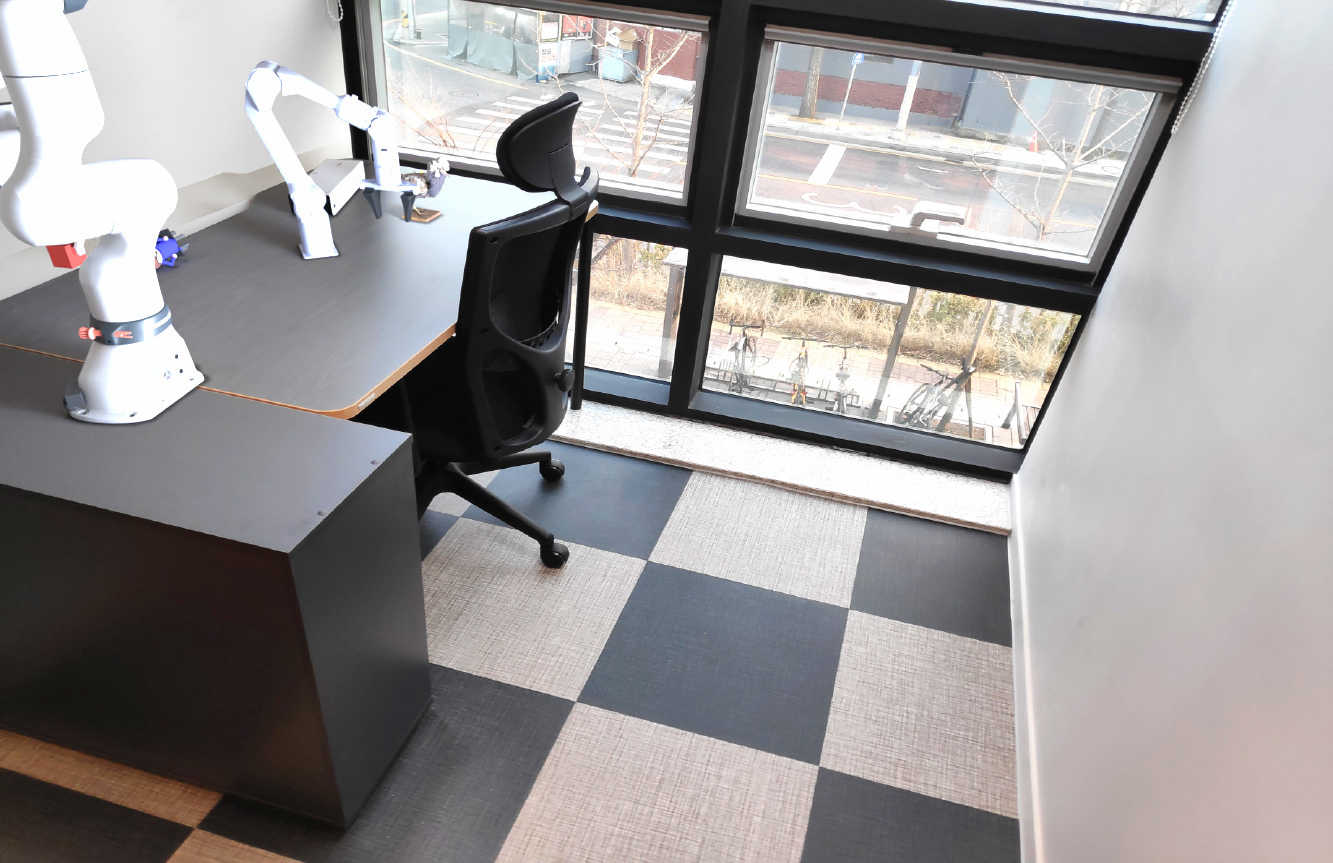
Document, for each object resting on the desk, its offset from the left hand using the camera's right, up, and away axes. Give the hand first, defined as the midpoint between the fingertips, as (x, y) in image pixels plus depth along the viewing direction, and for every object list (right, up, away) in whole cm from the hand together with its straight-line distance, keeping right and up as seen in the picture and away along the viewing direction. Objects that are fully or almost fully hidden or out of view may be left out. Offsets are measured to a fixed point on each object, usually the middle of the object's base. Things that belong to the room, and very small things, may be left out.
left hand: (66, 252), depth 170 cm
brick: (0, -2, +1) cm, 2 cm away
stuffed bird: (+56, +23, +61) cm, 86 cm away
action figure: (+49, +38, +82) cm, 103 cm away
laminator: (+27, +32, +70) cm, 81 cm away
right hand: (+56, +16, +36) cm, 68 cm away
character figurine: (+6, +2, +24) cm, 24 cm away
